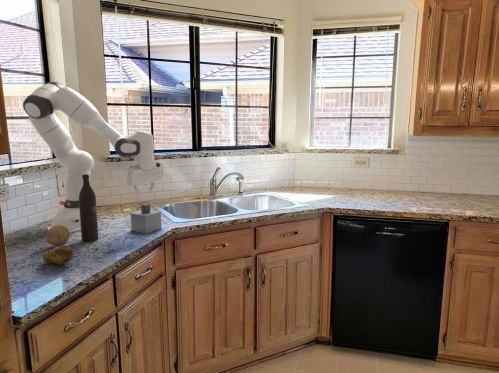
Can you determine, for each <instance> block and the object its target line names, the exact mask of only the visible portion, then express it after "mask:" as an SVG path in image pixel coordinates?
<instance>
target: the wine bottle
mask: <svg viewBox="0 0 499 373" xmlns="http://www.w3.org/2000/svg"><path fill="white" fill-rule="evenodd" d="M82 178H83V186H82V189H81V191H80V193H79V209H80V223H81V230H80V234H81V241H82V242H84V243H85V242H86V243H89V242H90V243H91V242H95V241H97V240H98V239H99V226H98V210H97V198H96V193H95V191H94V190H93V188H92V186H91V185H90V181H89V174H84V175H83V176H82Z"/></svg>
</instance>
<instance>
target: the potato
mask: <svg viewBox="0 0 499 373" xmlns="http://www.w3.org/2000/svg"><path fill="white" fill-rule="evenodd" d="M73 257H74V251H73V249H72V248H71V247H70V246H68V245H64V246H58V247H56V246H54V248H52V249H50V250H47V251H46V252H45V251H44V253H43V255H42V259H43V261H44V262H45V263H48V264H55V265H63V264H67V263H69V262H70V261H71V260H72V258H73Z"/></svg>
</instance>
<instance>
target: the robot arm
mask: <svg viewBox="0 0 499 373" xmlns="http://www.w3.org/2000/svg"><path fill="white" fill-rule="evenodd" d="M23 100H24V101H23V102H22V107H23V108H22V109H23V111H24V112H25V113H26V115H28V118H29V120H30V121H29V122H31V124H32V126H33V127H34V129H35V131H37V133H38V135H39V136H40V137H41V138H42V140H44V142H45V143H46V144H47V145H48V147H49V148H50V149H51V151H52V153H53V155H54V157H55V158H56V160H57V162H58V164H59V165H60V166H61V167H62V168H63V169H65V170H67V177H66V182H65V184H64V186H65V187H64V188H65V196H66V198H65V201H63V200H60V201H59V202H58V204H59V205H60V206H63V208H61V209H60V210H59V211H58V212H57V213H56V214H55V215H54V216H53V218H52V221H51V226H48V227H47V229H46V230H47V231H48V230H49V229H50V228H51V227H53V226H55V225H63V226H65V227H66V228H67V229H68V230H69V233H74V232H81V223H80V209H79V193H80V191H81V189H82V186H83V178H82V176H83V175H84V174H89V182H90V179H91V173H92V169H93V168H94V165H95V160H94V157H93V156H92V155H91V154H90V153H89V152H87V151H85V150H80V149H79V148H78V147H77V146H76V145H75V143H74V141H73V138H72V135H71V133H70V132H69V131H68V129H67V128H66V127H65V125H64V123H63V122H62V121H61V120H60V119H59V117H58V116H57V114H56V112H55V111H60V112H62V113H63V114H65V115H66V116H67V117H68V118H70V119H71V120H72V121H73V122H74V123H76V124H78V125H80V126H82V127H83V128H86V129H90V130H92V131H95V132H96V133H98V134H99V135H100V136H102V137H103V139H105V140H107V141H108V142H109V143H110V144H111V145H112V146H113V147H112V148H113V149H114V151H115V153H116V154H117V155H118V156H119V157H121V158H125V159H127V158H130V157H134V165H133V164H132V165H130V166H129V167H128V168H127V172H126V184H127V185H128V186H132V187H133V189H134V194H136V195H139V194H141V190H140V189H139V185H145V184H151V185H150V187H149V188H148V189H149V192H154V191H155V187H156V185H157V183H158V182H161V181H162V176H163V175H162V168H161V167H162V163H161V162H159V161H156V160H155V156H154V151H155V143H154V142H155V141H154V136H153V134H152V133H151V132H149V131H145V130H141V129H140V130H138V129H137V130H136V131H134V132H132V133H131V134H128V135H124V134H121V133H119V132H118V131H117V130H116V129H115V128H114V127H112V125H110V124H109V123H107V122H106V121H105V119H104V118H103V116H102V115H101V113H100V111H98V109H97V108H96V107H95V106H94V105H93V104H92V103H91V102H90V101H89V100H88V99H87V98H85V97H84V96H83V95H82V94H80V93H79V92H77V91H76V90H74V89H73V88H71V87H68V86H63V85H62V83H60V82H57V81H48V82H46V83H44V84H43V85H40V86H39V87H38V88H36V89H35V90H34V91H32V92H31V94H29V95H27V96H26V98H24V99H23ZM47 231H46V232H47Z"/></svg>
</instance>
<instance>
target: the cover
mask: <svg viewBox="0 0 499 373" xmlns="http://www.w3.org/2000/svg"><path fill="white" fill-rule="evenodd" d="M140 207H141V209H140V210H138V211H134V212H130V226H131V228H130V230H131V231H132V232H137V233H141V234H145V235H148V234H150V233H152V232H154V231H155V232H156V231H159V230H161V229H162V211H159V210H152V209H151V204H149V203H143V204H140Z"/></svg>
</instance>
